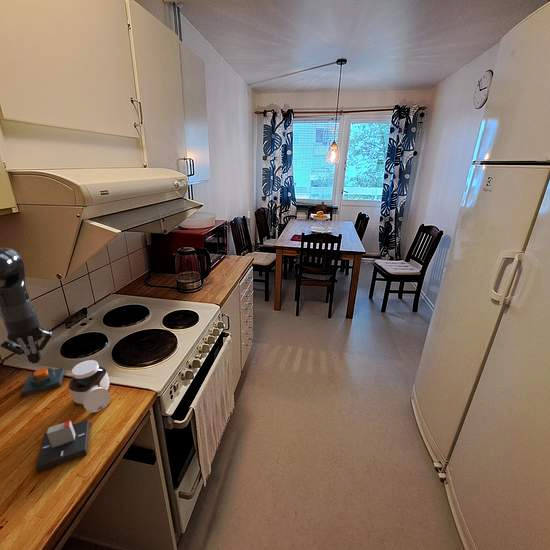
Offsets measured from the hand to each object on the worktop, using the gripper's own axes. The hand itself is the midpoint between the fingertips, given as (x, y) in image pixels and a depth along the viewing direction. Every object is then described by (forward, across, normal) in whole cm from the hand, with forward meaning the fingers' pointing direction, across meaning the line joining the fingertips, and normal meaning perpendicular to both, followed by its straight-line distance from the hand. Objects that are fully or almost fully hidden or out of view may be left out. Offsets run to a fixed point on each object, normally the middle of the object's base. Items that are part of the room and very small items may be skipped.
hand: (35, 361), depth 92 cm
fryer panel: (+10, -10, +30) cm, 33 cm away
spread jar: (+10, -16, +15) cm, 24 cm away
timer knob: (+7, -10, +30) cm, 32 cm away
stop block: (+10, 0, 0) cm, 10 cm away
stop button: (+6, 0, 0) cm, 6 cm away
